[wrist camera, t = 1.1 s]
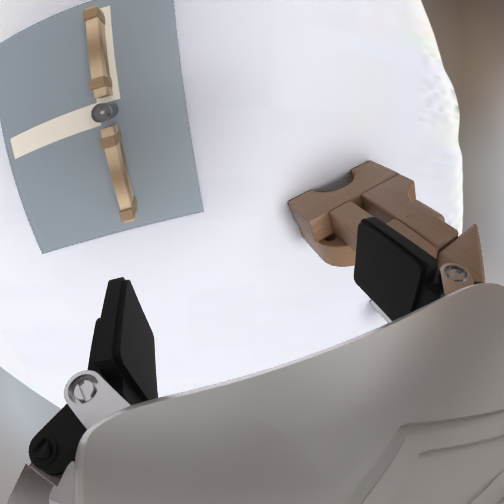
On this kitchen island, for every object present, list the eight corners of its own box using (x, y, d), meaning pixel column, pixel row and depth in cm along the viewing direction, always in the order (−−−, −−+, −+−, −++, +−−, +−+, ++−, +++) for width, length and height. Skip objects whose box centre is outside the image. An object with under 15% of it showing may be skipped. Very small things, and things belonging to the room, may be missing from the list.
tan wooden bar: (106, 126, 25) (97, 130, 22) (118, 122, 25) (111, 126, 22) (127, 211, 30) (122, 226, 27) (138, 208, 31) (135, 223, 27)
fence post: (102, 105, 24) (89, 106, 20) (118, 100, 25) (108, 100, 20) (105, 120, 25) (93, 125, 21) (120, 115, 26) (111, 119, 21)
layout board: (-5, 48, 15) (-8, 47, 15) (171, -17, 19) (171, -19, 18) (43, 251, 30) (42, 254, 30) (203, 209, 34) (203, 212, 34)
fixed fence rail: (113, 94, 24) (105, 94, 20) (101, 98, 23) (91, 98, 20) (104, 13, 18) (96, 2, 15) (92, 17, 18) (82, 7, 15)
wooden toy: (302, 240, 40) (414, 379, 20) (286, 201, 37) (421, 341, 16) (386, 194, 41) (515, 285, 20) (378, 155, 37) (530, 236, 16)
